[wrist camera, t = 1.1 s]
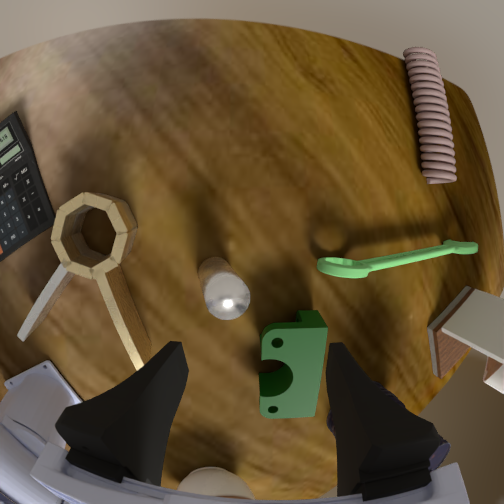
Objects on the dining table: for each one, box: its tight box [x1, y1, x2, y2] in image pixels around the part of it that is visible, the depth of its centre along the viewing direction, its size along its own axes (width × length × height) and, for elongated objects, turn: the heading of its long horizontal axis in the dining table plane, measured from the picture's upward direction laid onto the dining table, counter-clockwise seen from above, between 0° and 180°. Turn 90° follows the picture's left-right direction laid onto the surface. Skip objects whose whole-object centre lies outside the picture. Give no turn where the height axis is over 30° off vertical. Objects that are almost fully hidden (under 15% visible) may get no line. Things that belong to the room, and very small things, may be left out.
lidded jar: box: [177, 467, 256, 500], centre depth 26 cm, size 11×11×9 cm
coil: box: [403, 47, 457, 184], centre depth 27 cm, size 5×5×18 cm
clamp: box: [259, 310, 328, 419], centre depth 26 cm, size 11×6×8 cm, turn 173°
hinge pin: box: [198, 257, 250, 320], centre depth 22 cm, size 3×3×7 cm
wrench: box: [317, 239, 478, 278], centre depth 28 cm, size 25×2×5 cm, turn 95°
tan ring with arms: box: [17, 192, 152, 371], centre depth 21 cm, size 14×14×5 cm
